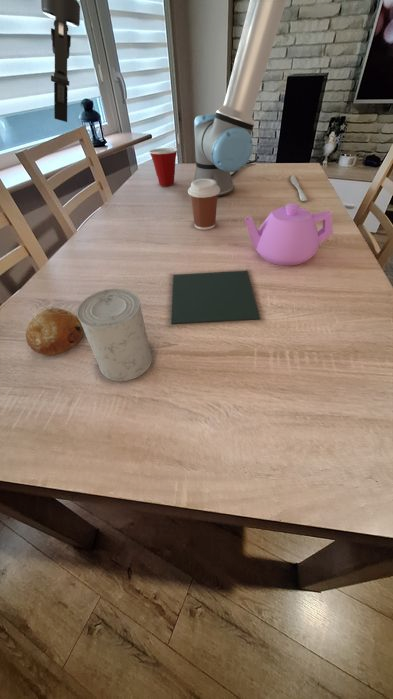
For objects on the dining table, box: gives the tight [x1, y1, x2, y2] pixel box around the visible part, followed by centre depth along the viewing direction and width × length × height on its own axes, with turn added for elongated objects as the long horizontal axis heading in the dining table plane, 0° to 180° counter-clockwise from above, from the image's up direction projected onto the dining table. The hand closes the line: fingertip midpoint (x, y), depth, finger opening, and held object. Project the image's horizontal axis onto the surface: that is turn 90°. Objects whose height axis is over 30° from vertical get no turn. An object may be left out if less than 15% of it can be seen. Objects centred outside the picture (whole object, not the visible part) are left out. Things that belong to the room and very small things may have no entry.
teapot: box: [243, 202, 334, 267], centre depth 74 cm, size 22×16×12 cm
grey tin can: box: [76, 288, 153, 382], centre depth 50 cm, size 10×10×12 cm
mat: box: [170, 270, 261, 325], centre depth 67 cm, size 18×18×1 cm
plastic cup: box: [148, 147, 178, 187], centre depth 117 cm, size 11×11×12 cm
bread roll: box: [25, 306, 84, 356], centre depth 58 cm, size 10×10×8 cm
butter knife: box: [290, 175, 308, 202], centre depth 111 cm, size 1×27×3 cm
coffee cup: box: [187, 179, 220, 231], centre depth 89 cm, size 9×9×12 cm
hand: (60, 117), depth 75 cm, fingers open, 13 cm apart
